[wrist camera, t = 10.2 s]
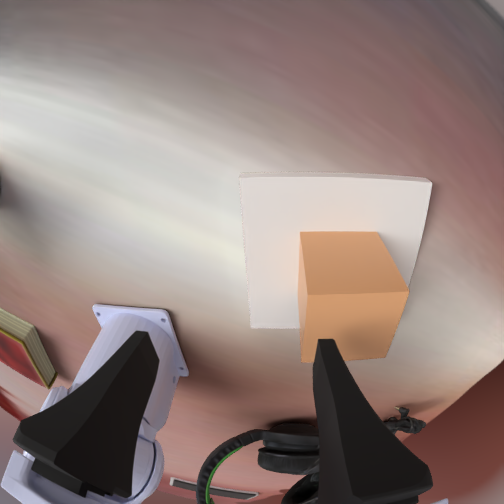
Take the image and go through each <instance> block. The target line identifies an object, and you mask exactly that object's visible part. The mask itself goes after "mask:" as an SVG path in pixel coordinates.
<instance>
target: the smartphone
mask: <svg viewBox="0 0 504 504" xmlns="http://www.w3.org/2000/svg"><path fill="white" fill-rule="evenodd" d="M170 485H172V486H176V487H180V488H184V489H188V490H192V491H196V486H197V483H195V482H190V481H186V480H182V479H178V478H174V477H171V480H170ZM209 494H212V495H218V496H224V497H230V498H238V499H246V500H248V499H251V498H253V497H256V496H258V495H259V492H251V491H242V490H235V489H228V488H221V487H215V486H210V488H209Z"/></svg>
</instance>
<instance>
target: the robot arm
mask: <svg viewBox="0 0 504 504" xmlns="http://www.w3.org/2000/svg"><path fill="white" fill-rule="evenodd" d="M92 309H93V311H94V313H95V315H96V317H97V319H98V321H99V323H100V325H101V327H102V330H101V332H100V333H99V335H98V337H97V339H96V340H95V342H94V344H93V346H92V348H91V349H90V351H89V353H88V355H87V357H86V359H85V360H84V362H83V364H82V366H81V368H80V370H79V372H78V374H77V376H76V378H75V380H74V382H73V384H72V386H71V387H70V388H69V389H66V388H65V387H64V386H60V387H55V388H53V389H52V390H51V391H50V393H49V395H48V397H47V398H46V400H45V402H44V404H43V406H42V408H41V410H40V412H39V413H37V414H35V415H33V416H30V417H28V418H26V419H23V420H21V422H20V425H19V427H18V429H17V431H16V433H15V436H14V438H13V442H14V443H15V444H17V445H18V446H19V447H21V448H22V449H23V450H24V452H23V455H22V454H20V453H19V452H17V451H16V450H14V451H13V454H12V456H11V458H10V461H9V463H8V466H7V469H6V471H5V474H4V477H3V479H2V482H1V487H2V488H3V489H5V490H6V491H7V492H9V493H10V494H11V495H12V496H14V497H15V498H16V499H17V500H19V501H20V502H21V503H23V504H141V503H142V501H143V500H144V499H146V498H147V497H148V496H150V495H151V494H152V493H153V492H154V491H155V490H156V488H157V486H158V485H159V483H160V480H161V478H162V475H163V470H164V455H163V451H162V447H161V445H160V443H159V442H158V441H157V440H155V436H156V432H158V431H159V430H160V429H161V428H162V427H163V426H164V424H165V423H166V421H167V418H168V415H169V411H170V407H171V404H172V400H173V397H174V393H175V390H176V386H177V383H178V379H179V376H188V375H189V371H188V368H187V365H186V363H185V360H184V357H183V354H182V352H181V349H180V346H179V343H178V340H177V337H176V334H175V331H174V329H173V326H172V322H171V319H170V316H169V314H168V312H167V311H166V310H163V309H150V308H136V307H124V306H112V305H101V304H94V306H93V307H92ZM313 392H314V400H315V407H316V415H317V423H318V431H319V444H320V458H319V489H318V504H416V503H418V495H420V494H422V493H424V492H426V491H428V490H429V489H431V488H432V486H433V482H432V476H431V473H430V470H429V468H428V466H427V465H426V464H425V463H424V462H423V461H421V460H420V459H419V458H418V457H417V456H415V455H414V454H413V453H412V452H411V451H410V450H409V449H408V448H407V447H406V446H404V445H403V444H402V443H401V442H400V440H399V439H398V438H397V437H396V436H395V435H394V434H393V433H392V432H391V431H390V430H389V429H388V428H387V426H386V425H385V424H384V423H383V421H382V420H381V419H380V418H379V416H378V415H377V414H376V413H375V411H374V410H373V409H372V407H371V406H370V404H369V403H368V401H367V400H366V398H365V397H364V395H363V394H362V392H361V391H360V389H359V387H358V386H357V384H356V382H355V380H354V379H353V377H352V375H351V373H350V372H349V370H348V368H347V366H346V364H345V362H344V360H343V358H342V356H341V354H340V351H339V349H338V347H337V344H336V342H335V340H334V339H318V342H317V348H316V353H315V359H314V364H313ZM432 504H448V499H443V500H440V501H438V502H435V503H432Z"/></svg>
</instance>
